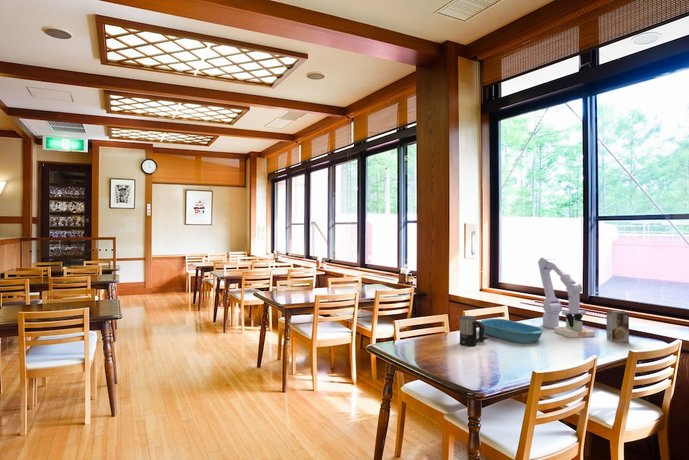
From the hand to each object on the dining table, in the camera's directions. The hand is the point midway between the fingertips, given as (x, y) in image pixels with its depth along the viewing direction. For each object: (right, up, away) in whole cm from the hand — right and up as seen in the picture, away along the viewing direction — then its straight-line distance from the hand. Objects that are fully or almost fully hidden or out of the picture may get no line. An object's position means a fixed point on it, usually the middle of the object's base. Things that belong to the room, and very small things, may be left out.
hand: (573, 326), depth 255 cm
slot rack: (0, -4, 0) cm, 4 cm away
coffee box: (+17, -5, -14) cm, 22 cm away
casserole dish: (-40, -5, -5) cm, 41 cm away
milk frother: (-65, -5, -19) cm, 68 cm away
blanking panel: (0, -3, 0) cm, 3 cm away
